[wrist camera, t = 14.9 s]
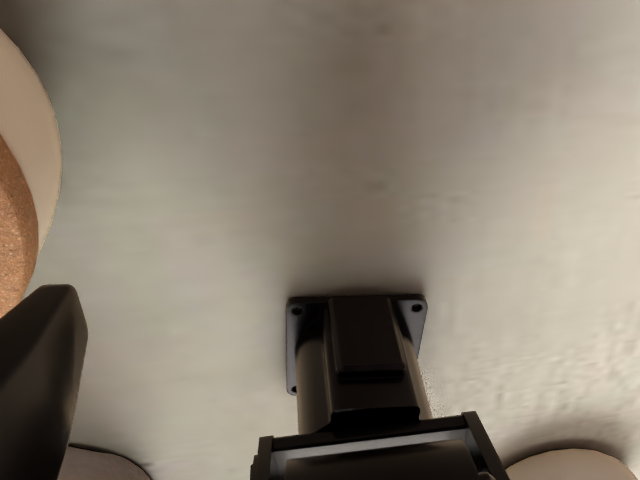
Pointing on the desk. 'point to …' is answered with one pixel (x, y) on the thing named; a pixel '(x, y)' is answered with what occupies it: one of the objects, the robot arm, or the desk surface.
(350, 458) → the robot arm
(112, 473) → the pillar candle
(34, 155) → the trinket box
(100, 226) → the desk surface
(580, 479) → the donut
